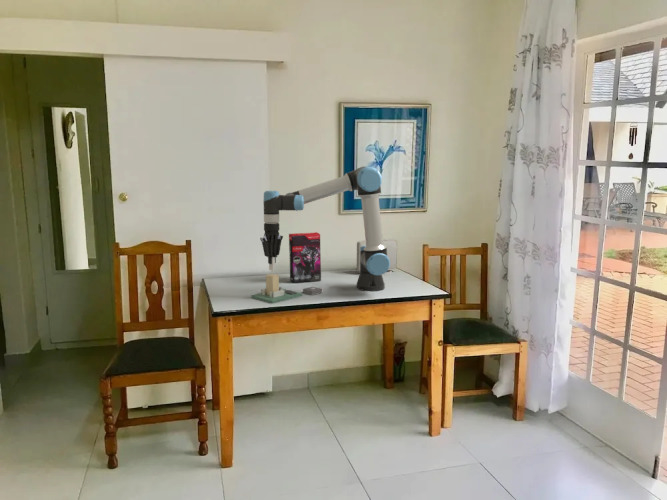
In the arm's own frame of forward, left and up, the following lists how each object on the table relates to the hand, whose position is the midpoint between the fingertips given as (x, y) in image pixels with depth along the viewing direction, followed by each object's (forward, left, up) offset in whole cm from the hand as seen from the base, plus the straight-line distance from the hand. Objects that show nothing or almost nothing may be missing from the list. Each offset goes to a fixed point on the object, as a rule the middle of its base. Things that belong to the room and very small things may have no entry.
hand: (272, 270), depth 264 cm
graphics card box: (+14, -36, -14) cm, 41 cm away
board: (-1, -2, -14) cm, 14 cm away
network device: (-1, -82, -14) cm, 83 cm away
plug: (0, 0, -13) cm, 13 cm away
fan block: (-8, -20, -14) cm, 26 cm away
